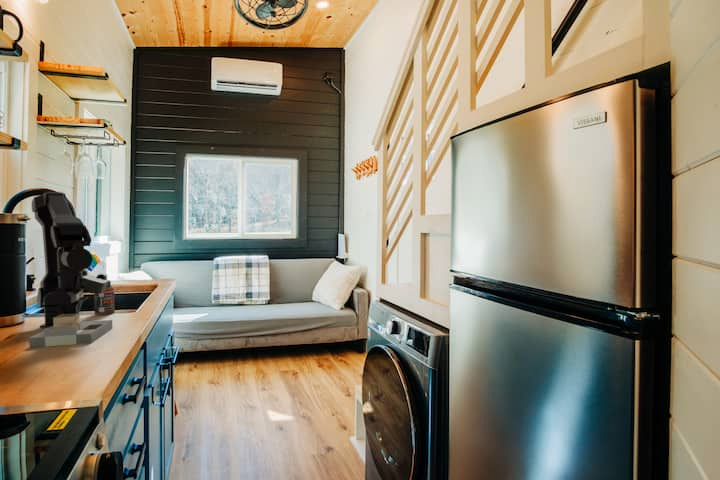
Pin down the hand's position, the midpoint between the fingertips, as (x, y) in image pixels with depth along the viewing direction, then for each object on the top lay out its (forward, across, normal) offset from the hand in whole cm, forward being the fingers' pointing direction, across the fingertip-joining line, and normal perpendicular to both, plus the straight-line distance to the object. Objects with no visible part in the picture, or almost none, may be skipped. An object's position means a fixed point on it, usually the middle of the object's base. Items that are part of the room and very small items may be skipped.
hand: (73, 324), depth 116 cm
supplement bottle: (+4, +32, +3) cm, 32 cm away
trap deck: (+4, 0, 0) cm, 4 cm away
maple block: (+1, -4, 0) cm, 4 cm away
